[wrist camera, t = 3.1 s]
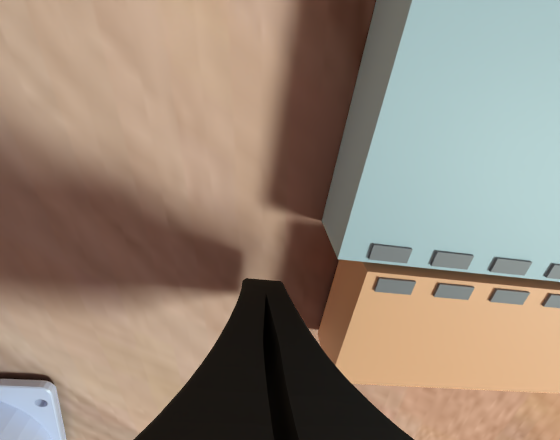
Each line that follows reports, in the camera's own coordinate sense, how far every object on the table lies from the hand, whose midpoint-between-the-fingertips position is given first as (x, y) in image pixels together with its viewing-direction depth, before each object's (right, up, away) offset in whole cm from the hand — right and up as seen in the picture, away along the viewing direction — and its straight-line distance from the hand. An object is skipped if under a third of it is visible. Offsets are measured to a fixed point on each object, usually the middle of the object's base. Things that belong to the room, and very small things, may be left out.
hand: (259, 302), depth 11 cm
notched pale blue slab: (+9, +6, -1) cm, 11 cm away
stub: (+8, 0, +2) cm, 8 cm away
